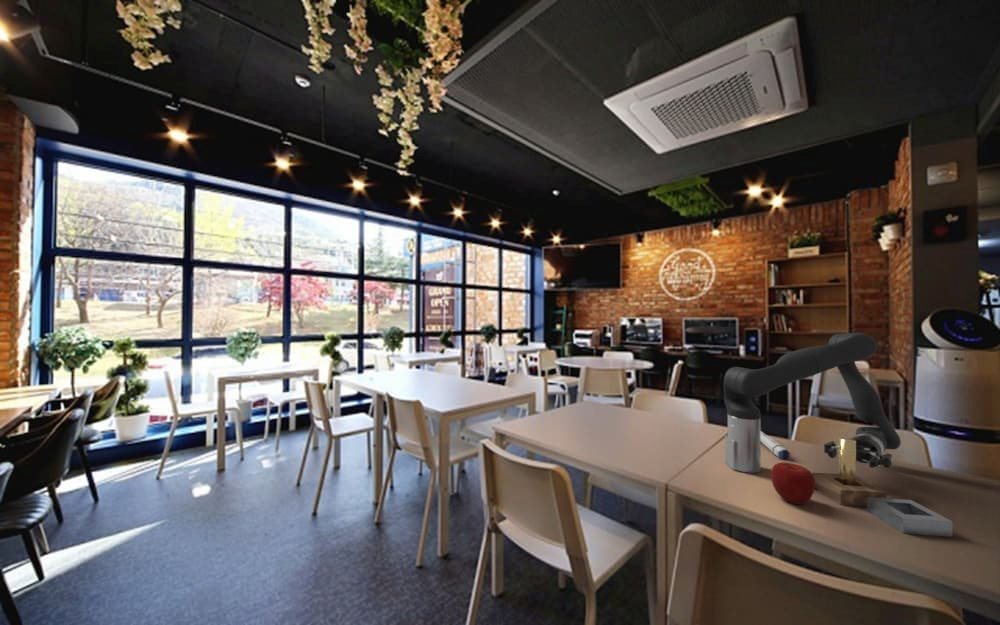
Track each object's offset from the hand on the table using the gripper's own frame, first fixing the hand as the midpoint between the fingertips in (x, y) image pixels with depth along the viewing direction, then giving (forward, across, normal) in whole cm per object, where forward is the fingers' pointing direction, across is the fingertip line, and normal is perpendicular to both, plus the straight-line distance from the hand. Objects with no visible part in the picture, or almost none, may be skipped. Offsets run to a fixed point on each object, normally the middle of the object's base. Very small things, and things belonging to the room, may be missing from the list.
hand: (850, 459), depth 107 cm
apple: (+20, -8, +10) cm, 23 cm away
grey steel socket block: (+10, +12, +10) cm, 18 cm away
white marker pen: (-22, -29, +10) cm, 38 cm away
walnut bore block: (+4, 0, +10) cm, 10 cm away
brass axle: (+4, 0, +10) cm, 10 cm away
